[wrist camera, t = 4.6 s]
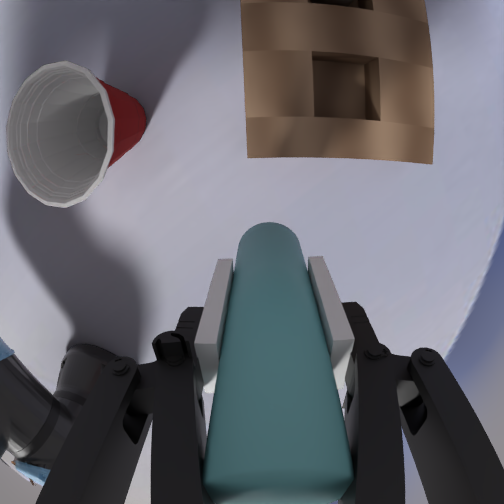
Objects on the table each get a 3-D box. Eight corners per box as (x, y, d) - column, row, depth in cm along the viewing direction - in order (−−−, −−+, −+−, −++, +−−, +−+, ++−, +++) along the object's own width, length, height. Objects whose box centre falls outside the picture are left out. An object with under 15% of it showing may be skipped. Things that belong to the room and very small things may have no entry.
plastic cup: (71, 162, 28) (-3, 191, 17) (93, 68, 24) (17, 58, 13) (154, 188, 29) (95, 231, 18) (184, 85, 25) (132, 68, 14)
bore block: (250, 151, 27) (241, 171, 17) (241, -45, 18) (229, -105, 8) (408, 156, 26) (470, 180, 16) (394, -31, 17) (439, -73, 7)
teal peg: (239, 279, 20) (211, 511, 7) (236, 223, 19) (184, 465, 5) (299, 278, 20) (339, 507, 6) (301, 221, 18) (374, 458, 5)
